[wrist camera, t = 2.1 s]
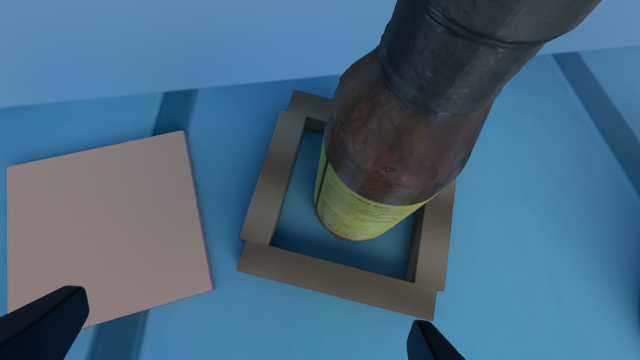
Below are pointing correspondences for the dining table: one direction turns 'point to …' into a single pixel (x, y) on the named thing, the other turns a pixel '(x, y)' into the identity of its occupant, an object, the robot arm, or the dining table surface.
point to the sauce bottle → (424, 104)
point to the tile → (108, 227)
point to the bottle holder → (328, 276)
